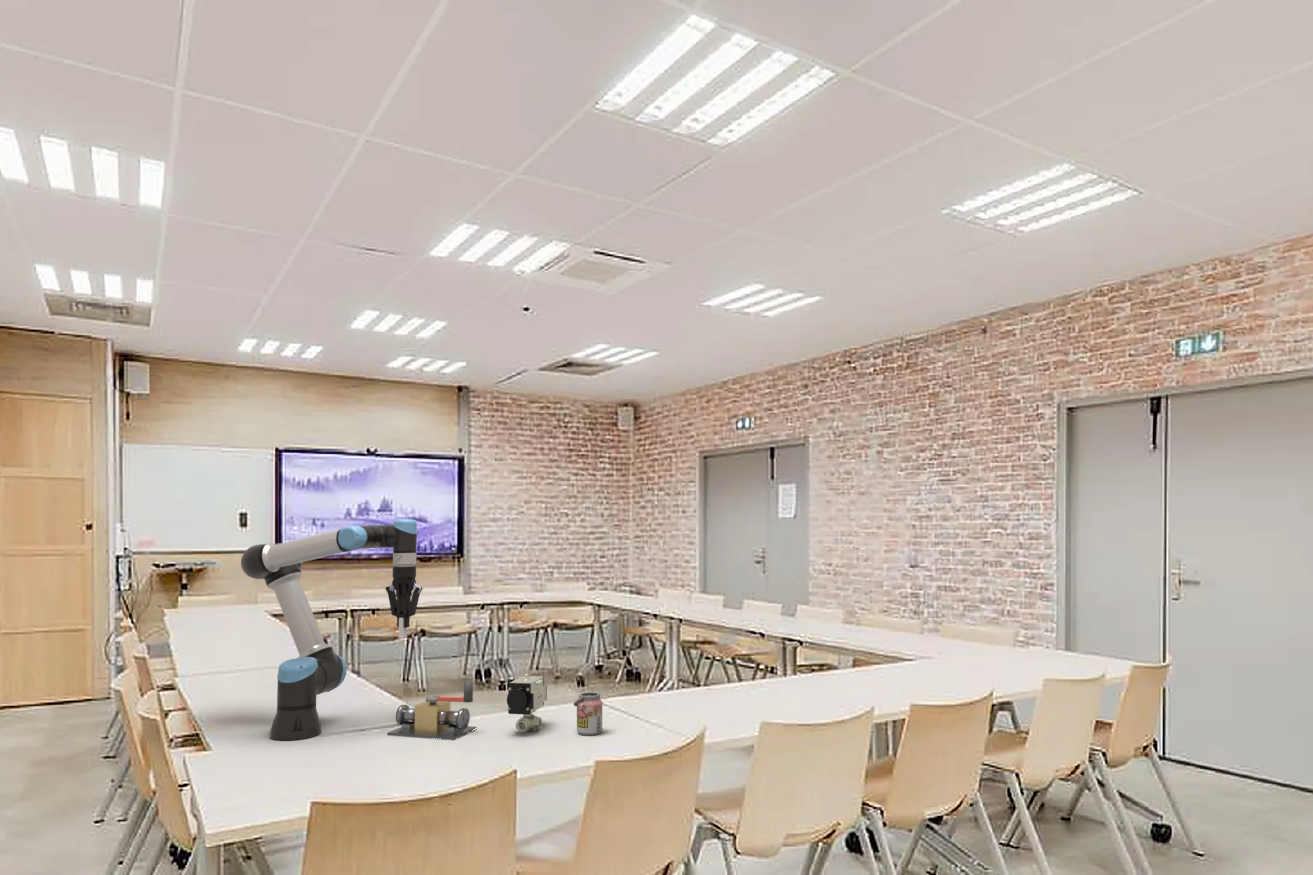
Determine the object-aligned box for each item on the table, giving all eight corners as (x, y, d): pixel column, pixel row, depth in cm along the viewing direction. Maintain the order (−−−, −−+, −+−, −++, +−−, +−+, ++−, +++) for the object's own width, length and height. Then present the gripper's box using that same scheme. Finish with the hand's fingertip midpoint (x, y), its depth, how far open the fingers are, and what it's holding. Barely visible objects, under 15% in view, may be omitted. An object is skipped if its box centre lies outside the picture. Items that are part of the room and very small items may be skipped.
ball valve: (531, 738, 265) (531, 679, 266) (505, 737, 266) (505, 678, 268) (549, 724, 282) (549, 669, 284) (525, 723, 284) (525, 669, 286)
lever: (423, 701, 272) (423, 682, 273) (429, 699, 277) (429, 680, 277) (469, 703, 270) (469, 683, 270) (475, 700, 274) (475, 681, 275)
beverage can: (568, 733, 270) (568, 694, 272) (588, 728, 277) (588, 690, 278) (588, 737, 264) (588, 698, 265) (608, 732, 270) (607, 693, 271)
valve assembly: (387, 735, 270) (387, 704, 271) (412, 725, 283) (412, 695, 284) (454, 740, 263) (454, 708, 264) (476, 729, 276) (476, 699, 277)
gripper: (380, 566, 282) (379, 638, 280) (415, 566, 279) (413, 639, 276) (394, 564, 290) (392, 635, 287) (427, 565, 286) (426, 636, 284)
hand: (402, 637), depth 282 cm, fingers closed
